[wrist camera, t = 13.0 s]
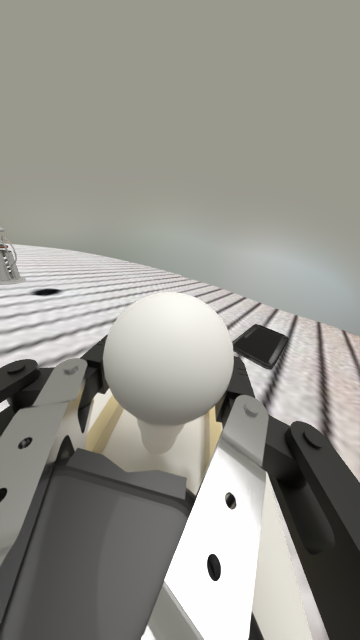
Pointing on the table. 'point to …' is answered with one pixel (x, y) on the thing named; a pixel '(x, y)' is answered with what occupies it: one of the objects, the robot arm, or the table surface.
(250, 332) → the phone
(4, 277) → the french press
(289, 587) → the lamp base
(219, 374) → the lightbulb
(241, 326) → the table surface
